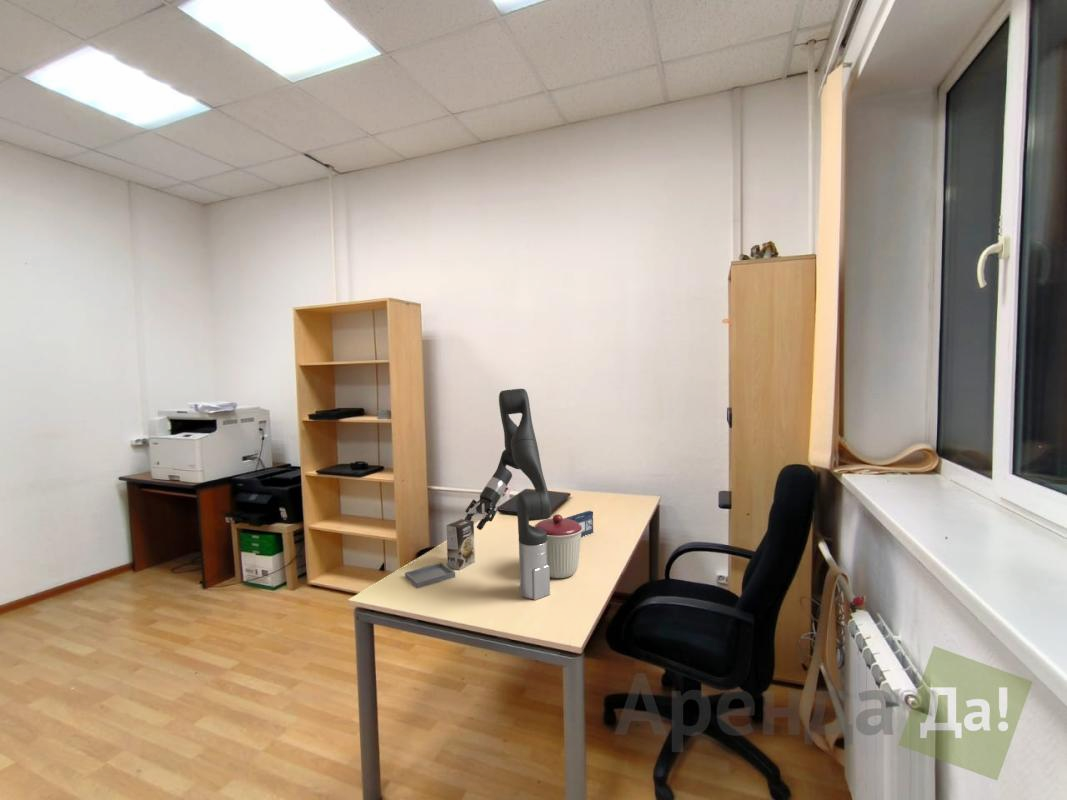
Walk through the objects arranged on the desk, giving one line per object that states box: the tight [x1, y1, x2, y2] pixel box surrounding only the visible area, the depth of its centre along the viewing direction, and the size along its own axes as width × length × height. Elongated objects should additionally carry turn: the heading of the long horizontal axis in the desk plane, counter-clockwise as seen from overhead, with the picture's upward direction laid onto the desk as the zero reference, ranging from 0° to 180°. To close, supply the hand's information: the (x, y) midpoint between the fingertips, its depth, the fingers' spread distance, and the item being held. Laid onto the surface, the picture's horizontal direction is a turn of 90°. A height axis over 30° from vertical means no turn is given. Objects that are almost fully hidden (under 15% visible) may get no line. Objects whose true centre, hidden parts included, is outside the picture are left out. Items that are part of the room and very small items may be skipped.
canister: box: [532, 514, 583, 579], centre depth 167 cm, size 18×18×21 cm
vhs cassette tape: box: [564, 510, 594, 538], centre depth 202 cm, size 18×3×10 cm, turn 129°
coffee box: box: [446, 518, 476, 571], centre depth 176 cm, size 9×6×16 cm
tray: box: [404, 561, 456, 589], centre depth 166 cm, size 11×14×2 cm
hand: (471, 526), depth 180 cm, fingers open, 8 cm apart
